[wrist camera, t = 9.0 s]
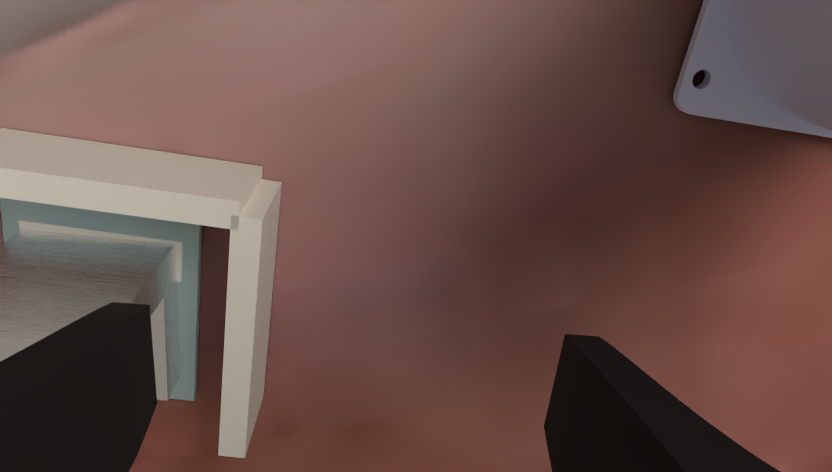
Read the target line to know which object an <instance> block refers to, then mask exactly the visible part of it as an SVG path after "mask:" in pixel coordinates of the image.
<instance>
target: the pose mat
mask: <svg viewBox="0 0 832 472" xmlns="http://www.w3.org/2000/svg"><path fill="white" fill-rule="evenodd" d="M0 207H1V217H2V227H3V237H4V243H5V242H6V241H7V240H9V239H10V238H11V237H13V236H14V235H16V234H17V233H18V232H20V231H21V230H22V229H25V230H36V231H46V232H56V233H66V234H76V235H86V236H96V237H106V238H117V239H127V240H137V241H147V242H157V243H167V244H175V248H176V279H177V311H178V343H179V374H180V378H179V380H178V382H177V384H176V386H175V388H174V390H173V392H172V394H171V395H170V397H169V398H170V399H179V400H188V401H194V400H195V398H196V396H197V367H198V338H199V308H200V279H201V249H202V225H196V224H189V223H181V222H174V221H167V220H160V219H152V218H145V217H138V216H131V215H123V214H116V213H109V212H101V211H94V210H87V209H80V208H72V207H65V206H58V205H51V204H43V203H36V202H29V201H22V200H14V199H7V198H0Z"/></svg>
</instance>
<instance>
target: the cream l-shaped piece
mask: <svg viewBox="0 0 832 472" xmlns="http://www.w3.org/2000/svg"><path fill="white" fill-rule="evenodd" d="M262 169H263V166H257V165H250V164H243V163H236V162H229V161H223V160H216V159H209V158H202V157H195V156H189V155H182V154H175V153H168V152H162V151H155V150H148V149H141V148H134V147H128V146H121V145H114V144H107V143H101V142H94V141H87V140H80V139H73V138H67V137H60V136H53V135H46V134H40V133H33V132H26V131H19V130H12V129H6V128H1V129H0V198H7V199H14V200H22V201H29V202H36V203H43V204H51V205H58V206H65V207H72V208H80V209H87V210H94V211H101V212H109V213H116V214H123V215H131V216H138V217H145V218H152V219H160V220H167V221H174V222H181V223H189V224H196V225H203V226H210V227H218V228H225V229H230V244H229V263H228V281H227V300H226V319H225V338H224V357H223V375H222V394H221V413H220V432H219V451H218V456H228V457H238V458H245V456H246V452H247V449H248V446H249V442H250V439H251V436H252V433H253V429H254V426H255V423H256V419H257V416H258V413H259V410H260V406H261V403H262V400H263V396H264V385H265V373H266V362H267V350H268V338H269V327H270V315H271V303H272V292H273V280H274V268H275V257H276V245H277V233H278V222H279V210H280V198H281V187H282V182H279V181H272V180H265V179H262Z"/></svg>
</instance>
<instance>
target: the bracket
mask: <svg viewBox="0 0 832 472" xmlns="http://www.w3.org/2000/svg"><path fill="white" fill-rule="evenodd" d="M112 302H118V303H132V304H146V305H150V317H151V330H152V343H153V356H154V369H155V382H156V395H157V400H166V401H168V399H169V397H170V395H171V394H172V392H173V390H174V388H175V386H176V384H177V382H178V380H179V378H180V374H179V343H178V311H177V279H176V248H175V244H167V243H157V242H147V241H137V240H127V239H117V238H106V237H96V236H86V235H76V234H66V233H56V232H46V231H36V230H25V229H22V230H21V231H20V232H18V233H17V234H16V235H14V236H13V237H11V238H10V239H9V240H7V241H6V242H5V243H3V244H2V245H0V361H2V360H4V359H6V358H8V357H10V356H12V355H13V354H15V353H17V352H19V351H21V350H23V349H25V348H26V347H28V346H30V345H32V344H34V343H36V342H37V341H39V340H41V339H43V338H45V337H47V336H49V335H50V334H52V333H54V332H56V331H58V330H60V329H61V328H63V327H65V326H67V325H69V324H70V323H72V322H74V321H76V320H78V319H80V318H81V317H83V316H85V315H87V314H89V313H91V312H93V311H95V310H97V309H99V308H101V307H103V306H105V305H107V304H110V303H112Z"/></svg>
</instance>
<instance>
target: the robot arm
mask: <svg viewBox="0 0 832 472" xmlns="http://www.w3.org/2000/svg"><path fill="white" fill-rule="evenodd" d="M700 70H703V71H704V73H705V78H704V80H703V82H702V83H701V84H699V85H698V86H694V85H693V83H692V79H693V76H694V75H695V73H696V72H698V71H700ZM673 101H674V105H675V106H676V107H677V108H678V109H679V110H680V111H682V112H684V113H687V114H690V115H696V116H702V117H708V118H714V119H720V120H726V121H732V122H738V123H744V124H750V125H757V126H763V127H769V128H775V129H781V130H787V131H793V132H799V133H805V134H811V135H817V136H823V137H829V138H832V0H704V1H703V4H702V7H701V10H700V13H699V16H698V19H697V22H696V25H695V28H694V32H693V35H692V38H691V41H690V44H689V47H688V50H687V53H686V56H685V59H684V62H683V65H682V68H681V71H680V75H679V78H678V81H677V84H676V87H675V90H674V94H673ZM156 405H157V395H156V382H155V369H154V356H153V343H152V330H151V317H150V305H146V304H132V303H118V302H112V303H110V304H107V305H105V306H103V307H101V308H99V309H97V310H95V311H93V312H91V313H89V314H87V315H85V316H83V317H81V318H80V319H78V320H76V321H74V322H72V323H70V324H69V325H67V326H65V327H63V328H61V329H60V330H58V331H56V332H54V333H52V334H50V335H49V336H47V337H45V338H43V339H41V340H39V341H37V342H36V343H34V344H32V345H30V346H28V347H26V348H25V349H23V350H21V351H19V352H17V353H15V354H13V355H12V356H10V357H8V358H6V359H4V360H2V361H0V472H128V471H129V469H130V468H131V466H132V464H133V462H134V460H135V458H136V456H137V454H138V451H139V449H140V447H141V444H142V442H143V439H144V437H145V434H146V432H147V429H148V426H149V423H150V421H151V418H152V415H153V413H154V410H155V407H156ZM544 429H545V435H546V440H547V446H548V452H549V457H550V462H551V467H552V472H780V471H778V470H777V469H775V468H773V467H772V466H770V465H769V464H767V463H765V462H764V461H762V460H761V459H759V458H758V457H756V456H755V455H753V454H752V453H750V452H749V451H747V450H746V449H744V448H743V447H741V446H740V445H739V444H737V443H736V442H734V441H733V440H732V439H730V438H729V437H727V436H726V435H725V434H723V433H722V432H721V431H719V430H718V429H716V428H715V427H714V426H712V425H711V424H709V423H708V422H707V421H705V420H704V419H703V418H701V417H700V416H699V415H698V414H696V413H695V412H694V411H692V410H691V409H690V408H688V407H687V406H686V405H685V404H683V403H682V402H681V401H679V400H678V399H677V398H676V397H674V396H673V395H672V394H671V393H669V392H668V391H667V390H666V389H664V388H663V387H662V386H661V385H659V384H658V383H657V382H656V381H655V380H653V379H652V378H651V377H650V376H648V375H647V374H646V373H645V372H644V371H642V370H641V369H640V368H639V367H637V366H636V365H635V364H634V363H633V362H631V361H630V360H629V359H628V358H626V357H625V356H624V355H623V354H621V353H620V352H619V351H618V350H616V349H615V348H614V347H613V346H611V345H610V344H609V343H607V342H606V341H604V340H603V339H601V338H600V337H597V336H583V335H569V334H565V337H564V341H563V345H562V350H561V354H560V359H559V363H558V367H557V372H556V376H555V381H554V385H553V389H552V394H551V398H550V402H549V407H548V411H547V416H546V420H545V424H544Z"/></svg>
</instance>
